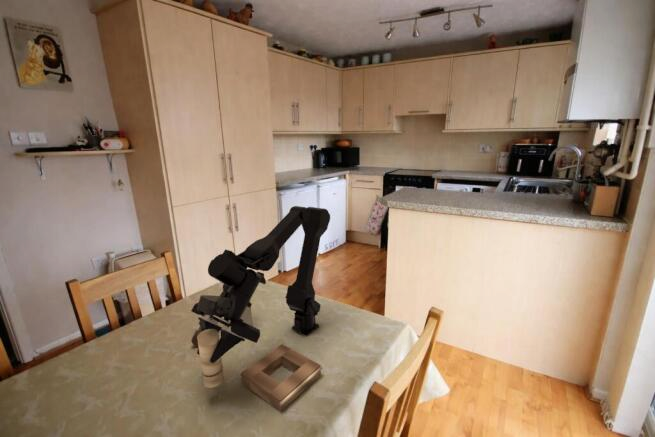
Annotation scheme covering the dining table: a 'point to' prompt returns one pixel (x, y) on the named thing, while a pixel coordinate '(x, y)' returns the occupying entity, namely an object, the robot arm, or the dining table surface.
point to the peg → (206, 348)
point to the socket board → (288, 389)
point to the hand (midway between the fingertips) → (205, 358)
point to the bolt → (194, 338)
